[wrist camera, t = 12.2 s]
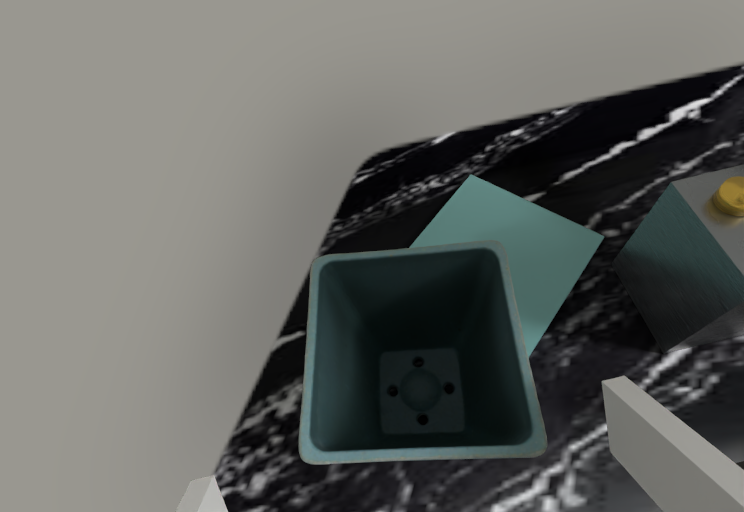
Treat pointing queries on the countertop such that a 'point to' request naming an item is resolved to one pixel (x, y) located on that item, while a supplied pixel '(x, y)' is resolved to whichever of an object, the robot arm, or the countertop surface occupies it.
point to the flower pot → (417, 341)
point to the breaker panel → (690, 261)
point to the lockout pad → (518, 247)
